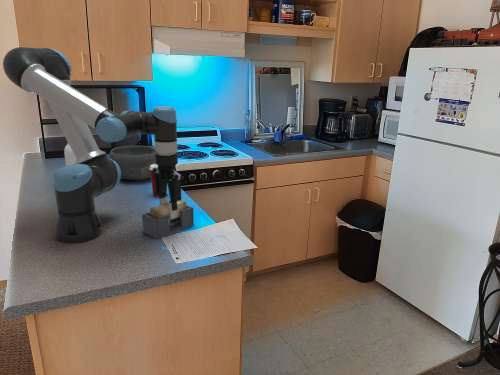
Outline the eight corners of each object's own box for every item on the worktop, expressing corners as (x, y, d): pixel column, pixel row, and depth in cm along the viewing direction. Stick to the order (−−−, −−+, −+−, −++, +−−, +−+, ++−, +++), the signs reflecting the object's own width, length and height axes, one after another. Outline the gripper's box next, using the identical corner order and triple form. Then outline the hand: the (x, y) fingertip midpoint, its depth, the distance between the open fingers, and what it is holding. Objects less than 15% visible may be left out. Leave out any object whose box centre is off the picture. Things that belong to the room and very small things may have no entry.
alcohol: (74, 190, 176) (66, 125, 167) (65, 186, 181) (57, 122, 172) (92, 186, 183) (85, 123, 173) (83, 182, 188) (76, 121, 179)
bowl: (168, 180, 195) (167, 151, 191) (121, 188, 181) (118, 157, 177) (149, 169, 214) (147, 143, 209) (104, 175, 200) (102, 147, 195)
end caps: (156, 239, 131) (155, 220, 129) (143, 232, 135) (142, 214, 133) (193, 224, 143) (193, 207, 141) (180, 219, 148) (180, 202, 146)
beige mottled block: (157, 224, 132) (157, 211, 131) (150, 221, 135) (149, 208, 133) (186, 214, 142) (186, 201, 140) (179, 211, 144) (179, 198, 142)
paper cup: (164, 199, 169) (162, 168, 165) (147, 197, 171) (146, 167, 166) (171, 193, 176) (170, 164, 172) (155, 191, 178) (154, 162, 174)
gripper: (191, 155, 128) (192, 219, 135) (159, 147, 139) (162, 207, 146) (173, 159, 123) (176, 226, 130) (142, 150, 133) (146, 213, 140)
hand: (169, 216), depth 138 cm, fingers closed on beige mottled block, 4 cm apart
